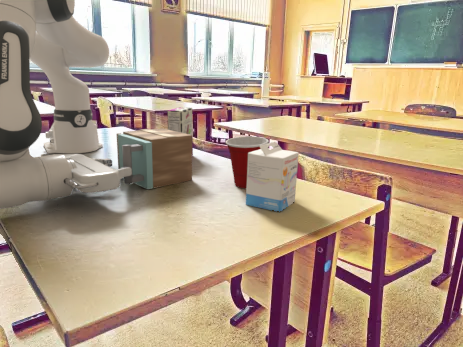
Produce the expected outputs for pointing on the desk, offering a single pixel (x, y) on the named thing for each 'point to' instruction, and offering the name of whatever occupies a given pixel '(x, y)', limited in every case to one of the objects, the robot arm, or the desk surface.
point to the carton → (168, 155)
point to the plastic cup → (242, 156)
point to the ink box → (271, 177)
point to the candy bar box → (181, 121)
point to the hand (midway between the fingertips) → (120, 166)
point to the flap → (135, 159)
